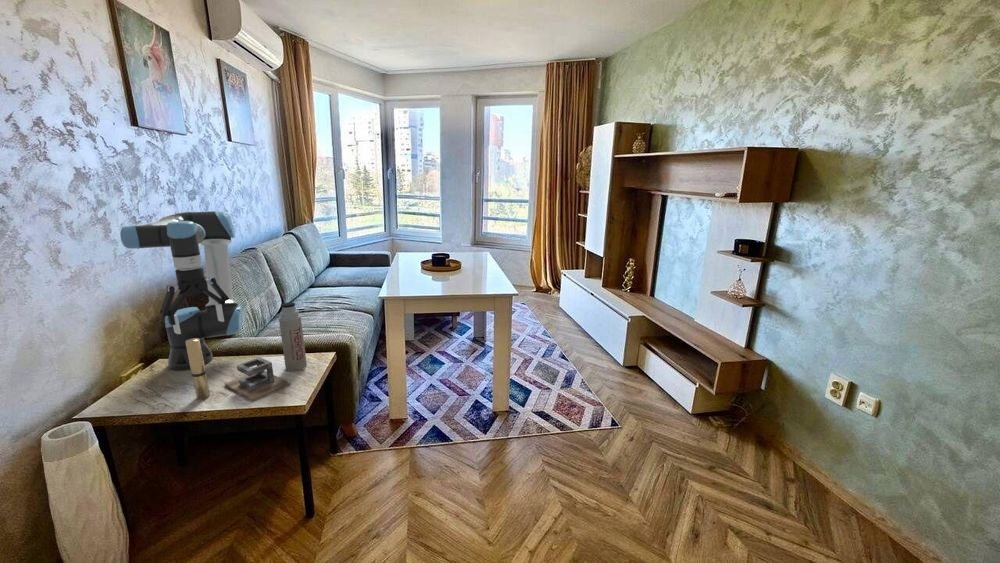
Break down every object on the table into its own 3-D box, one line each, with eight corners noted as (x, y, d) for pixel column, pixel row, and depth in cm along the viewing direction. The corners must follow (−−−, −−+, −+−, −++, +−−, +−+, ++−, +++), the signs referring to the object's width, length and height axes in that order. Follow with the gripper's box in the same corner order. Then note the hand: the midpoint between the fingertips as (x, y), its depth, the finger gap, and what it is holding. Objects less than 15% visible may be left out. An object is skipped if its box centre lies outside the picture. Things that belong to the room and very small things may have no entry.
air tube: (194, 397, 147) (182, 341, 141) (207, 392, 150) (196, 337, 145) (199, 401, 145) (188, 343, 139) (212, 395, 148) (202, 339, 142)
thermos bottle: (309, 367, 170) (301, 304, 163) (288, 373, 165) (279, 308, 158) (303, 361, 176) (296, 299, 169) (283, 366, 171) (274, 303, 164)
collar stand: (224, 385, 155) (220, 364, 153) (261, 371, 167) (258, 351, 164) (252, 401, 145) (248, 378, 142) (290, 384, 156) (287, 363, 154)
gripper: (148, 277, 124) (162, 341, 130) (234, 262, 145) (243, 318, 151) (137, 273, 128) (152, 336, 133) (222, 259, 149) (232, 314, 154)
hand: (200, 326), depth 142 cm, fingers open, 13 cm apart
